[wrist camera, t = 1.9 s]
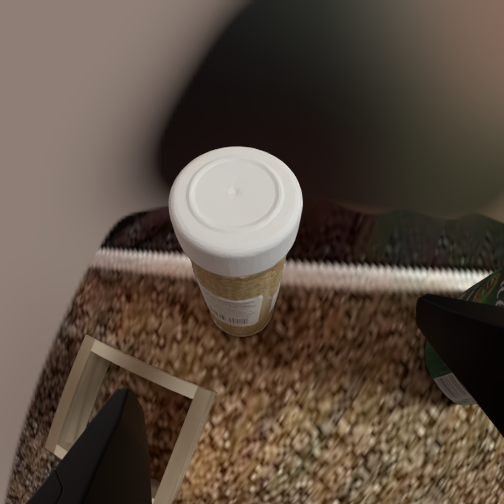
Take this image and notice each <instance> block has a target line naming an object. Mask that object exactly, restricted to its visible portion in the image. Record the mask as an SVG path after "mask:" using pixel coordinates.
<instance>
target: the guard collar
mask: <svg viewBox="0 0 504 504" xmlns="http://www.w3.org/2000/svg"><path fill="white" fill-rule="evenodd" d="M110 362H113V363H115V364H117V365H119V366H121V367H123V368H125V369H127V370H129V371H131V372H133V373H135V374H137V375H139V376H141V377H143V378H145V379H147V380H150V381H152V382H154V383H156V384H158V385H161V386H163V387H165V388H168V389H170V390H172V391H174V392H177V393H179V394H182V395H184V396H186V397H189V398H191V399H193V401H192V403H191V406H190V408H189V411H188V413H187V416H186V419H185V421H184V424H183V426H182V429H181V432H180V434H179V437H178V439H177V442H176V444H175V447H174V450H173V452H172V455H171V457H170V460H169V463H168V465H167V468H166V470H165V473H164V476H163V478H162V481H161V482H159V481H156V480H154V479H152V478H151V493H152V504H172V502H173V501H174V500H175V498H176V496H177V493H178V491H179V488H180V486H181V483H182V481H183V478H184V476H185V473H186V470H187V468H188V465H189V463H190V460H191V458H192V455H193V453H194V450H195V448H196V445H197V442H198V440H199V437H200V435H201V432H202V430H203V427H204V424H205V422H206V419H207V417H208V414H209V411H210V409H211V406H212V404H213V401H214V398H215V396H216V393H217V392H214V391H212V390H209V389H206V388H204V387H201V386H199V385H196V384H194V383H191V382H189V381H186V380H184V379H181V378H179V377H176V376H174V375H172V374H169V373H167V372H165V371H162V370H160V369H158V368H156V367H153V366H151V365H149V364H147V363H145V362H142V361H140V360H138V359H136V358H134V357H132V356H130V355H128V354H126V353H124V352H122V351H120V350H118V349H116V348H114V347H112V346H110V345H108V344H105V343H103V342H101V341H99V340H97V339H95V338H93V337H91V336H89V335H85V337H84V340H83V342H82V345H81V347H80V349H79V352H78V354H77V357H76V359H75V362H74V364H73V367H72V369H71V372H70V374H69V377H68V380H67V382H66V385H65V388H64V390H63V393H62V396H61V399H60V402H59V404H58V407H57V410H56V413H55V416H54V419H53V422H52V425H51V428H50V432H49V435H48V438H47V441H46V445H45V448H46V449H48V450H49V451H51V452H52V453H53V454H55V455H56V456H58V457H59V458H61V459H63V457H64V456H65V455H66V453H67V452H68V451H69V450H70V448H71V447H72V446H73V444H74V443H75V442H76V440H77V439H78V438H79V437H80V435H81V434H82V433H83V431H84V430H85V428H86V425H87V422H88V419H89V417H90V414H91V411H92V408H93V406H94V403H95V400H96V398H97V395H98V392H99V390H100V387H101V385H102V382H103V380H104V377H105V375H106V372H107V370H108V367H109V365H110Z"/></svg>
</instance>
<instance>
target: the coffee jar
mask: <svg viewBox="0 0 504 504" xmlns="http://www.w3.org/2000/svg"><path fill="white" fill-rule="evenodd" d="M457 299H461V300H467V301H472V302H478V303H484V304H490V305H496V306H502V307H504V266H503V267H501V268H500V269H498V270H497V271H495V272H494V273H492V274H491V275H489V276H487V277H486V278H484V279H483V280H481V281H480V282H478V283H477V284H475V285H473V286H472V287H470V288H469V289H467V290H466V291H464V292H463V293H462V294H461V295H460V296H459V297H458V298H457ZM425 362H426V366H427V368H428V371H429V373H430V375H431V377H432V379H433V380H434V382H435V383H436V385H437V386H438V388H439V389H440V390H441V391H442V393H443V394H444V395H445V396H446V397H448V398H449V399H450V400H451V401H452V402H454V403H456V404H459V405H472V404H477V402H476V401H475V400H474V399H473V397H472V396H471V395H470V394H469V393H468V391H467V390H466V389H465V388H464V386H463V385H462V384H461V383H460V382H459V380H458V379H457V378H456V377H455V376H454V374H453V373H452V372H451V371H450V370H449V369H448V367H447V366H446V365H445V364H444V363H443V361H442V360H441V359H440V358H439V356H438V355H437V353H436V352H435V351H434V349H433V348H432V346H431V345H430V343H429V342H428V341H427V342H426V347H425Z"/></svg>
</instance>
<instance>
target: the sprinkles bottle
mask: <svg viewBox="0 0 504 504" xmlns="http://www.w3.org/2000/svg"><path fill="white" fill-rule="evenodd" d="M302 206H303V200H302V193H301V189H300V186H299V183H298V181H297V179H296V177H295V176H294V174H293V173H292V171H291V170H290V169H289V168H288V167H287V166H286V165H285V164H284V163H283V162H282V161H280V160H279V159H277V158H276V157H274V156H272V155H270V154H268V153H266V152H263V151H260V150H257V149H253V148H247V147H227V148H221V149H216V150H213V151H210V152H208V153H205V154H203V155H201V156H199V157H197V158H196V159H194V160H193V161H191V162H190V163H189V164H188V165H187V166H186V167H185V168H184V169H183V170H182V171H181V172H180V174H179V175H178V176H177V178H176V180H175V182H174V183H173V186H172V188H171V191H170V196H169V214H170V218H171V221H172V224H173V228H174V231H175V234H176V236H177V239H178V241H179V243H180V245H181V247H182V249H183V251H184V252H185V254H186V255H187V256H188V257H189V258H190V260H191V263H192V268H193V272H194V274H195V277H196V279H197V282H198V285H199V287H200V289H201V292H202V294H203V297H204V299H205V301H206V303H207V306H208V307H209V311H210V315H211V318H212V320H213V321H214V323H215V324H216V326H217V327H218V328H220V329H221V330H222V331H223V332H226V333H227V334H229V335H232V336H237V337H245V336H250V335H254V334H256V333H258V332H260V331H262V330H263V329H264V328H265V327H266V326H267V324H268V323H269V322H270V320H271V317H272V314H273V312H274V305H275V302H276V299H277V295H278V291H279V287H280V282H281V275H282V271H283V267H284V263H285V259H286V254H287V252H288V251H289V250H290V248H291V247H292V245H293V243H294V241H295V238H296V235H297V231H298V228H299V223H300V218H301V213H302Z"/></svg>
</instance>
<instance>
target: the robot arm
mask: <svg viewBox="0 0 504 504" xmlns="http://www.w3.org/2000/svg"><path fill="white" fill-rule="evenodd" d="M416 324H417V326H418V328H419V329H420V331H421V332H422V333H423V335H424V336H425V338H426V339H427V341H428V342H429V343H430V345H431V346H432V348H433V349H434V351H435V352H436V353H437V355H438V356H439V358H440V359H441V360H442V361H443V363H444V364H445V365H446V366H447V367H448V369H449V370H450V371H451V372H452V373H453V374H454V376H455V377H456V378H457V379H458V380H459V382H460V383H461V384H462V385H463V386H464V388H465V389H466V390H467V391H468V393H469V394H470V395H471V396H472V397H473V399H474V400H475V401H476V402H477V404H478V405H479V406H480V407H481V409H482V410H483V411H484V413H485V414H486V415H487V416H488V418H489V419H490V420H491V421H492V423H493V424H494V425H495V427H496V428H497V429H498V431H499V432H500V433H501V435H502V436H503V437H504V307H502V306H496V305H490V304H484V303H478V302H472V301H467V300H461V299H455V298H449V297H444V296H438V295H432V294H426V295H424V296H422V297H420V298H418V300H417V306H416ZM26 504H152V493H151V472H150V455H149V448H148V441H147V434H146V426H145V418H144V412H143V409H142V406H141V405H140V403H139V401H138V399H137V398H136V396H135V394H134V392H133V391H132V390H131V388H122V389H117V390H116V391H115V392H114V393H113V395H112V396H111V397H110V398H109V400H108V401H107V402H106V403H105V405H104V406H103V407H102V409H101V410H100V411H99V412H98V414H97V415H96V416H95V417H94V419H93V420H92V421H91V423H90V424H89V425H88V426H87V428H86V429H85V430H84V431H83V433H82V434H81V435H80V437H79V438H78V439H77V440H76V442H75V443H74V444H73V446H72V447H71V448H70V450H69V451H68V452H67V453H66V455H65V456H64V457H63V459H62V460H61V461H60V462H59V464H58V465H57V466H56V470H53V471H52V473H51V474H50V475H49V477H48V478H47V479H46V481H45V482H44V483H43V484H42V486H41V487H40V488H39V489H38V490H37V492H36V493H35V494H34V495H33V496H32V497H31V498H30V499H29V501H28V502H27V503H26Z"/></svg>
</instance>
